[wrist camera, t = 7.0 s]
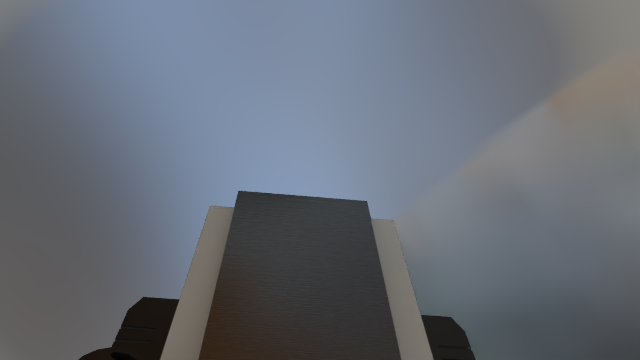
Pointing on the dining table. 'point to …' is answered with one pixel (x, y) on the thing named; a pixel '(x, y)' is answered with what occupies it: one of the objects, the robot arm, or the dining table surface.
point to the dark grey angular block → (300, 284)
